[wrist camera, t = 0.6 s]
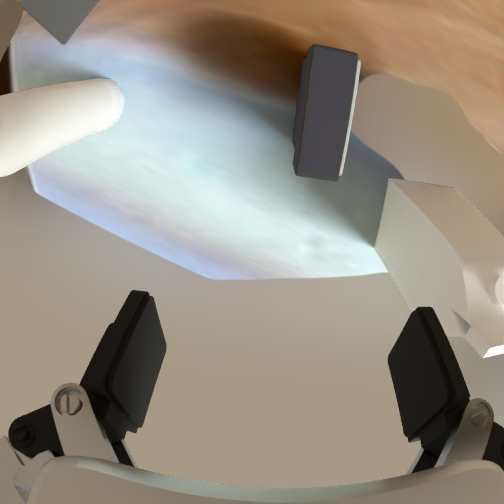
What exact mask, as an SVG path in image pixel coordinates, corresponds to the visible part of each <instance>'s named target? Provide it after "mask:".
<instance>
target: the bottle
mask: <svg viewBox="0 0 504 504" xmlns="http://www.w3.org/2000/svg"><path fill="white" fill-rule="evenodd" d="M123 109H124V95H123V91H122V89H121V87H120V86H119V85H118V84H117V82H115V81H113V80H111V79H103V78H93V79H89V80H81V81H73V82H66V83H59V84H53V85H47V86H41V87H36V88H31V89H27V90H22V91H18V92H14V93H9V94H6V95H2V96H0V177H3V176H7V175H10V174H13V173H15V172H16V171H18V170H20V169H22V168H23V167H25V166H27V165H29V164H31V163H33V162H35V161H36V160H38V159H40V158H42V157H44V156H46V155H48V154H50V153H52V152H54V151H56V150H59V149H61V148H63V147H65V146H67V145H69V144H72V143H74V142H76V141H78V140H81V139H83V138H85V137H88V136H90V135H93V134H95V133H99V132H102V131H104V130H106V129H108V128H110V127H111V126H113V125H114V124H116V123H117V121H118V120H119V118H120V117H121V116H122V112H123Z"/></svg>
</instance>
